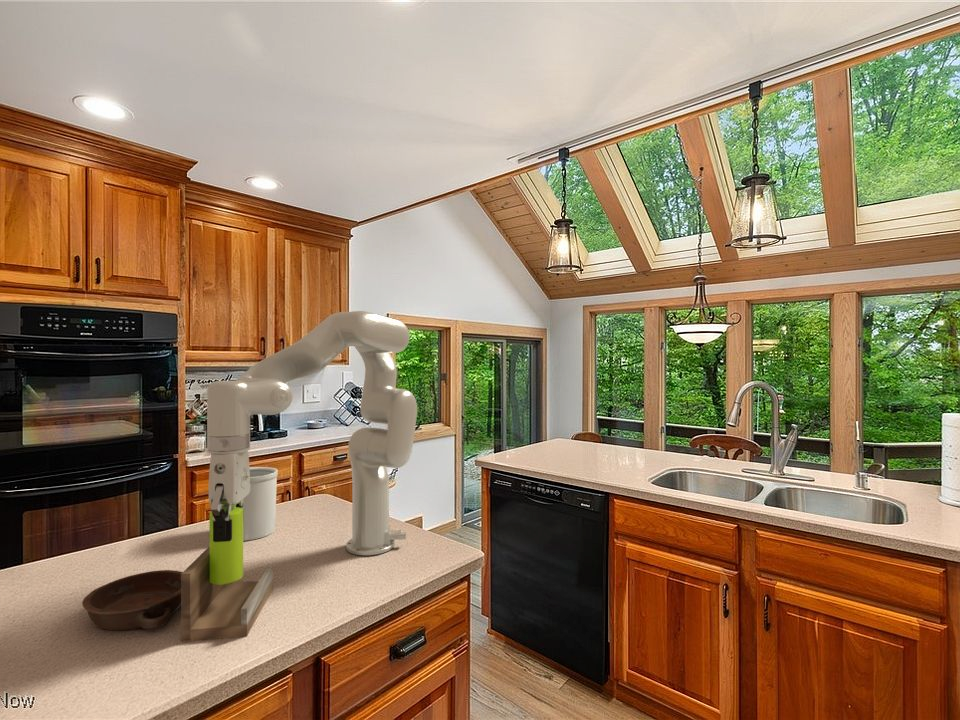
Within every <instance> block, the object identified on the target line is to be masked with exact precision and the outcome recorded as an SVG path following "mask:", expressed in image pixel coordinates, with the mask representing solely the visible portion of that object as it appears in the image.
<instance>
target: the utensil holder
mask: <svg viewBox="0 0 960 720" xmlns="http://www.w3.org/2000/svg"><path fill="white" fill-rule="evenodd" d="M249 467H250V492H249V494H248V495H247V496H246V497H245V498H244V499H243V502H244V506H243V508H242V509H243V542H244V541H251V540H252V541H253V540H257V539H261V538H265V537H267V536H270V535H272V532H273V533H274V531H275V530H276V516H277V515H276V514H277V487H278V486H277V484H278V482H277V481H278V480H277V477H278V475H279V473H278V472H279V470H278V469H277V468H275V467H270V466H269V467H268V466H249Z"/></svg>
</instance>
